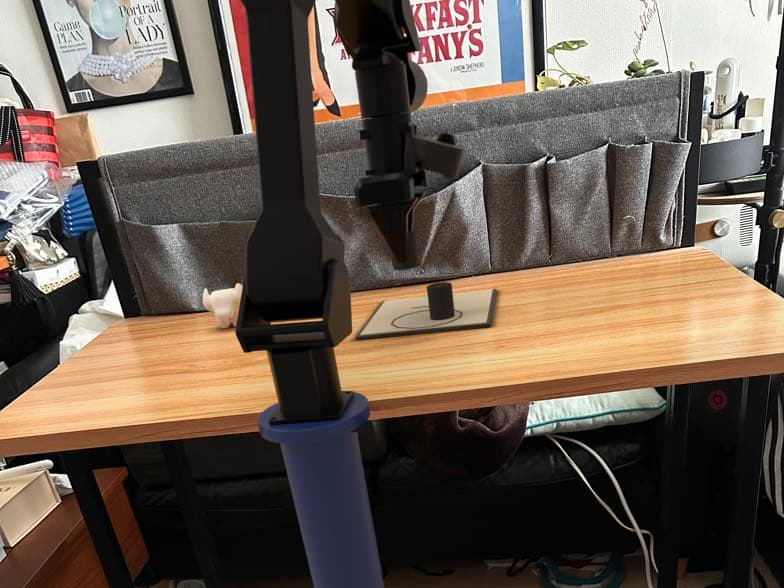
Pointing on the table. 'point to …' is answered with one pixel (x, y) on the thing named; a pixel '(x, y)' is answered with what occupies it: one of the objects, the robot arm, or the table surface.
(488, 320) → the sketch board
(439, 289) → the eye puck
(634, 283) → the table surface
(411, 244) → the eye puck
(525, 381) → the table surface
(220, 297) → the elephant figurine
